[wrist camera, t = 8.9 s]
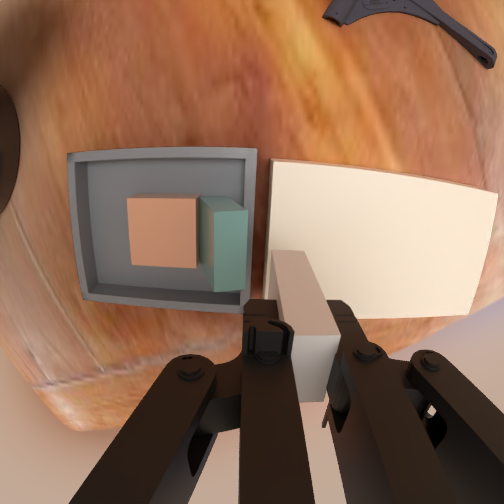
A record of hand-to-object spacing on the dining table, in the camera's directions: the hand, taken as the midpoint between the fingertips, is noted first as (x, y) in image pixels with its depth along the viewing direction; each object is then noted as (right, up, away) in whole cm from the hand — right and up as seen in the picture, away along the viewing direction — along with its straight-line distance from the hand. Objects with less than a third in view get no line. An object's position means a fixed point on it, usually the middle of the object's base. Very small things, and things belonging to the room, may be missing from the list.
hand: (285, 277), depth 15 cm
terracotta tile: (-8, +2, +7) cm, 11 cm away
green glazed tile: (-3, +2, +6) cm, 7 cm away
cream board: (+9, +3, +9) cm, 13 cm away
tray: (-8, +3, +9) cm, 13 cm away
